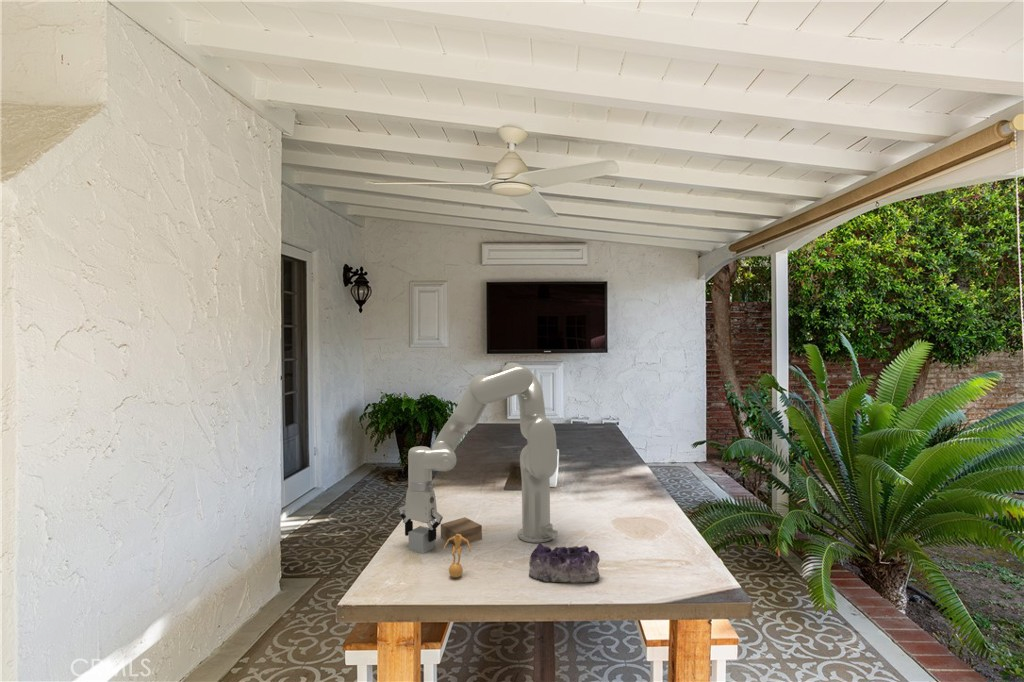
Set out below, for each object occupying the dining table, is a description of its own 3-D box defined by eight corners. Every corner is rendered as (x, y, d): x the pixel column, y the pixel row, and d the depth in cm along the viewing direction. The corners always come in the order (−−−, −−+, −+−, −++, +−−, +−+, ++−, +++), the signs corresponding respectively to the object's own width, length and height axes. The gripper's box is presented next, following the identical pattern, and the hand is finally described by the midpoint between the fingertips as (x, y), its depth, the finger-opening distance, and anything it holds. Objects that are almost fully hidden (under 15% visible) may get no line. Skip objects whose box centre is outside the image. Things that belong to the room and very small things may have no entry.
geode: (529, 588, 156) (527, 551, 157) (528, 574, 167) (526, 540, 168) (603, 584, 156) (600, 547, 157) (596, 570, 168) (594, 536, 168)
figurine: (439, 578, 162) (439, 537, 161) (446, 569, 168) (446, 529, 167) (467, 581, 160) (466, 540, 159) (473, 571, 166) (473, 531, 165)
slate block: (435, 547, 184) (434, 529, 184) (423, 554, 179) (422, 535, 179) (420, 543, 187) (420, 525, 187) (408, 550, 182) (408, 532, 182)
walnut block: (481, 539, 190) (481, 525, 190) (457, 548, 184) (456, 532, 183) (465, 531, 198) (465, 517, 197) (440, 538, 191) (440, 524, 191)
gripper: (448, 486, 181) (448, 539, 182) (407, 478, 190) (407, 528, 190) (434, 493, 174) (434, 547, 175) (392, 484, 183) (392, 536, 184)
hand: (420, 537), depth 183 cm, fingers open, 9 cm apart
